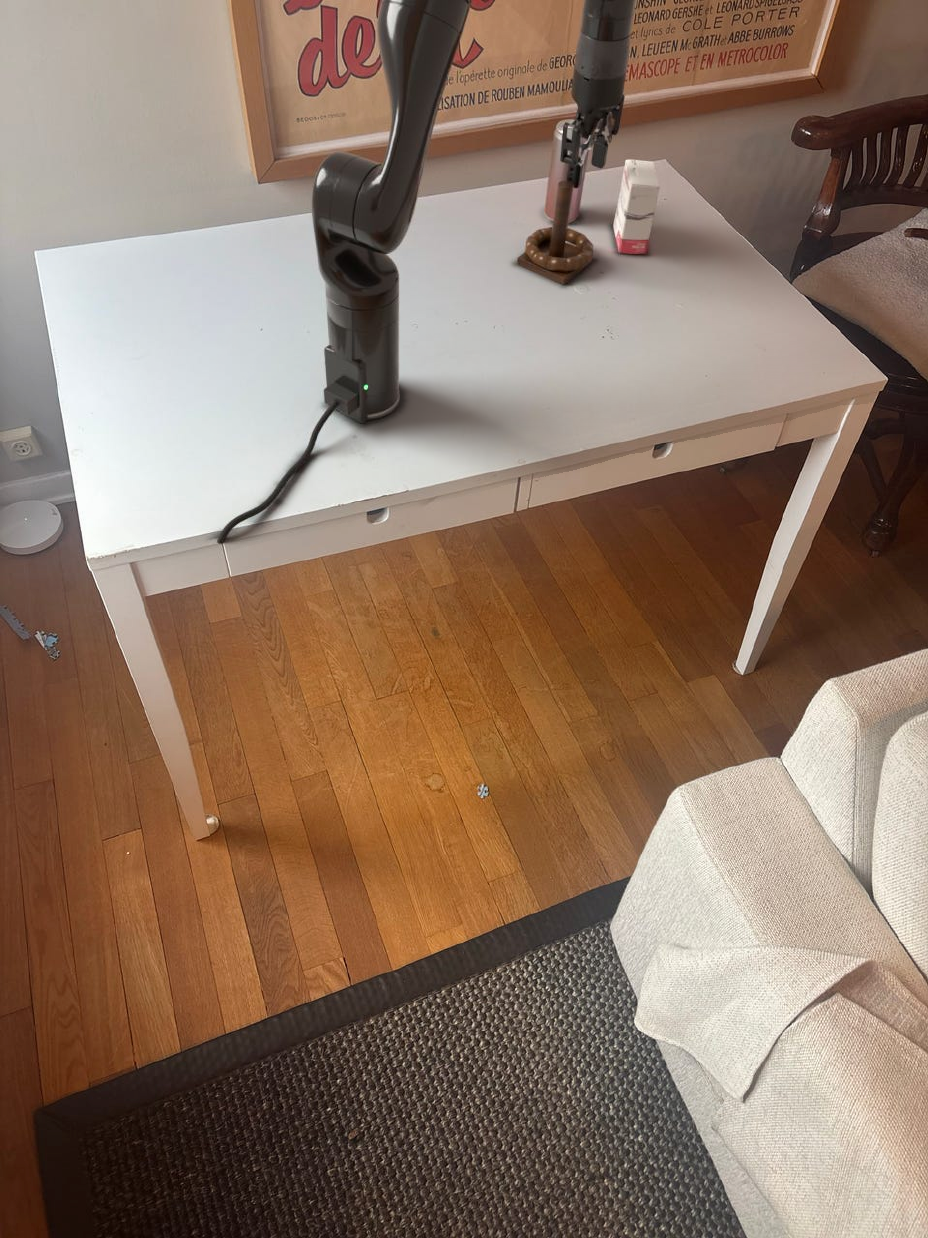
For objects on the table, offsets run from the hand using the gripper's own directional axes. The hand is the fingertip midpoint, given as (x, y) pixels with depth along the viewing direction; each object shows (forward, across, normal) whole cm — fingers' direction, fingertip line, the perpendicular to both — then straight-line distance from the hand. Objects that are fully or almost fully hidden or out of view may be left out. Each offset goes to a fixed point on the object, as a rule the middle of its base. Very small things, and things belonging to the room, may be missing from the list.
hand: (585, 175), depth 151 cm
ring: (+10, +6, 0) cm, 11 cm away
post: (+12, +6, 0) cm, 14 cm away
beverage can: (+13, -6, -7) cm, 16 cm away
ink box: (+13, -8, +6) cm, 16 cm away
